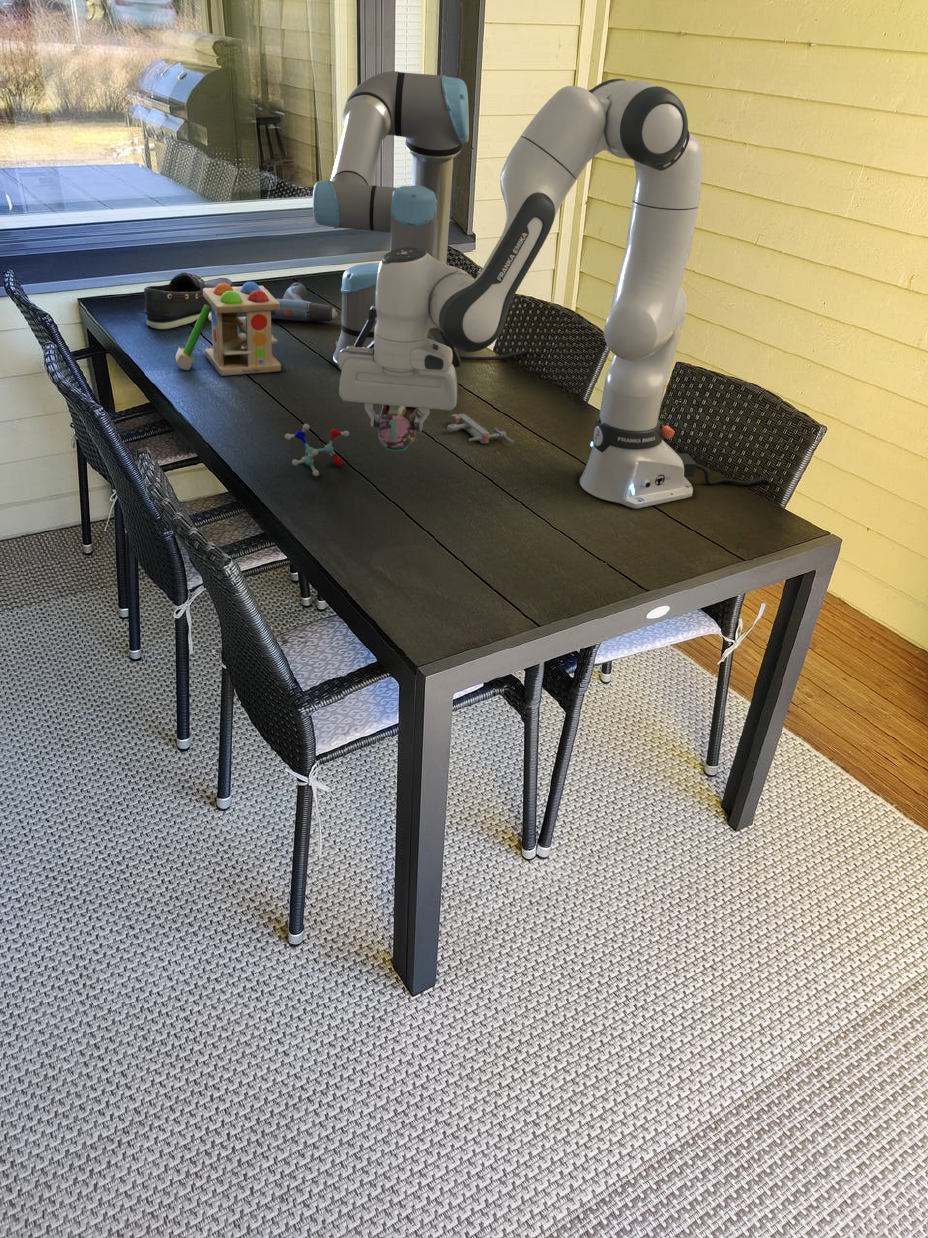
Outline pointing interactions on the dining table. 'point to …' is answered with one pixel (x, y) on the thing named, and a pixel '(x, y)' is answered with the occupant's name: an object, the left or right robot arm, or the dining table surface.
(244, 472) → the dining table surface
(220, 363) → the pounding bench toy
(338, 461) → the molecular model
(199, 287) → the boat shoe
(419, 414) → the ballet flat
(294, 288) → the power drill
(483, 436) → the clamp
